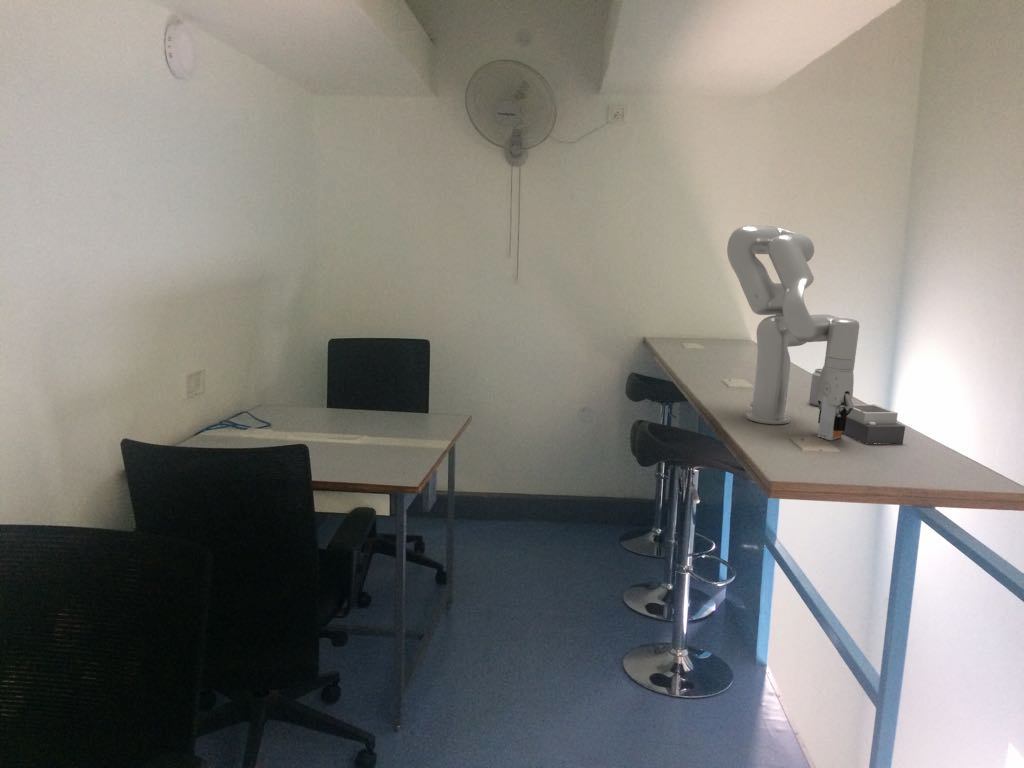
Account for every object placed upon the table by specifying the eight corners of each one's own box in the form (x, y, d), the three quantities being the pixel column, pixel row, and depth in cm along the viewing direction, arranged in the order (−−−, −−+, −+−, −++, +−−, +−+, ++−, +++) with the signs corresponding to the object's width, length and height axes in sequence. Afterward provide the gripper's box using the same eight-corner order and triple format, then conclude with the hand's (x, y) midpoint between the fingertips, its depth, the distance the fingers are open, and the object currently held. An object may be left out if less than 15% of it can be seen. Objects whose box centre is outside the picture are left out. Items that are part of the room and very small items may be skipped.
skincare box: (832, 441, 205) (837, 398, 203) (817, 437, 208) (822, 395, 206) (842, 437, 209) (847, 395, 207) (827, 434, 212) (832, 393, 210)
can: (836, 408, 245) (841, 372, 243) (813, 407, 245) (818, 371, 243) (827, 403, 253) (832, 368, 250) (805, 402, 253) (809, 367, 250)
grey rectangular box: (832, 428, 219) (835, 401, 217) (866, 428, 221) (869, 401, 219) (866, 444, 203) (870, 415, 202) (902, 443, 205) (906, 414, 203)
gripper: (809, 358, 212) (801, 419, 216) (845, 369, 195) (837, 435, 199) (833, 358, 213) (825, 419, 217) (871, 369, 197) (862, 435, 200)
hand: (831, 426), depth 208 cm, fingers closed on skincare box, 6 cm apart
